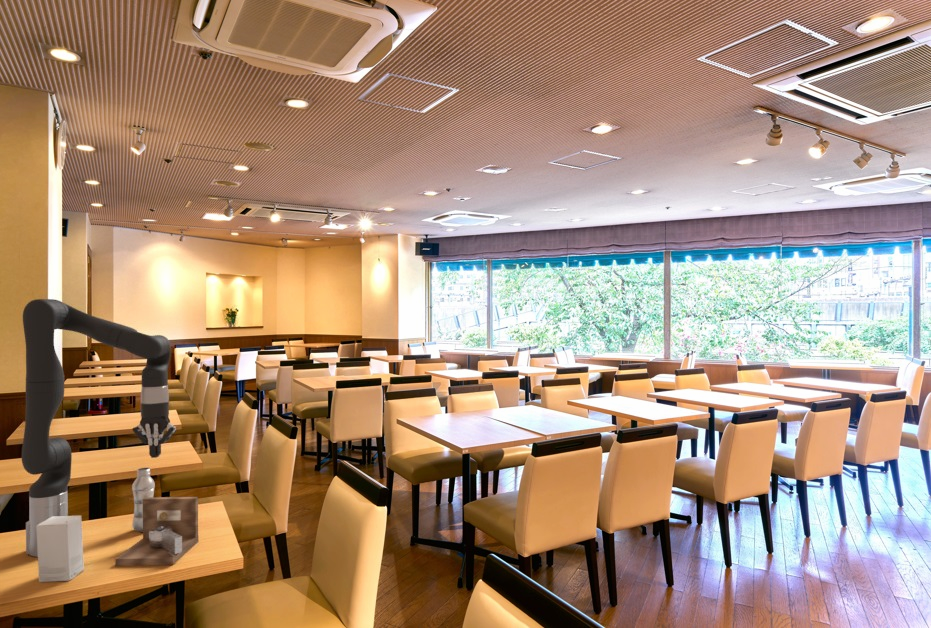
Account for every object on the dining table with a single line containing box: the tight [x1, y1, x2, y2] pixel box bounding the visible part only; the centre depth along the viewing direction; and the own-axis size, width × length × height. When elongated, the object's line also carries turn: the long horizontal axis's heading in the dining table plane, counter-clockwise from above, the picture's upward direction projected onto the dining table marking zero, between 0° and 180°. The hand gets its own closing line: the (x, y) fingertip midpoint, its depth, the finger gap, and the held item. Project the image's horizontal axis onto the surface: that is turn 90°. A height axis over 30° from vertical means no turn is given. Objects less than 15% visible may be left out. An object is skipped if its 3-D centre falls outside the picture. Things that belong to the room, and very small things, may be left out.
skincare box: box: [36, 515, 85, 583], centre depth 151 cm, size 8×7×16 cm
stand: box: [114, 496, 199, 567], centre depth 166 cm, size 16×16×14 cm
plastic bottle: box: [131, 467, 156, 532], centre depth 183 cm, size 6×7×20 cm
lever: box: [149, 525, 182, 554], centre depth 164 cm, size 14×6×5 cm, turn 53°
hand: (155, 457), depth 171 cm, fingers closed
